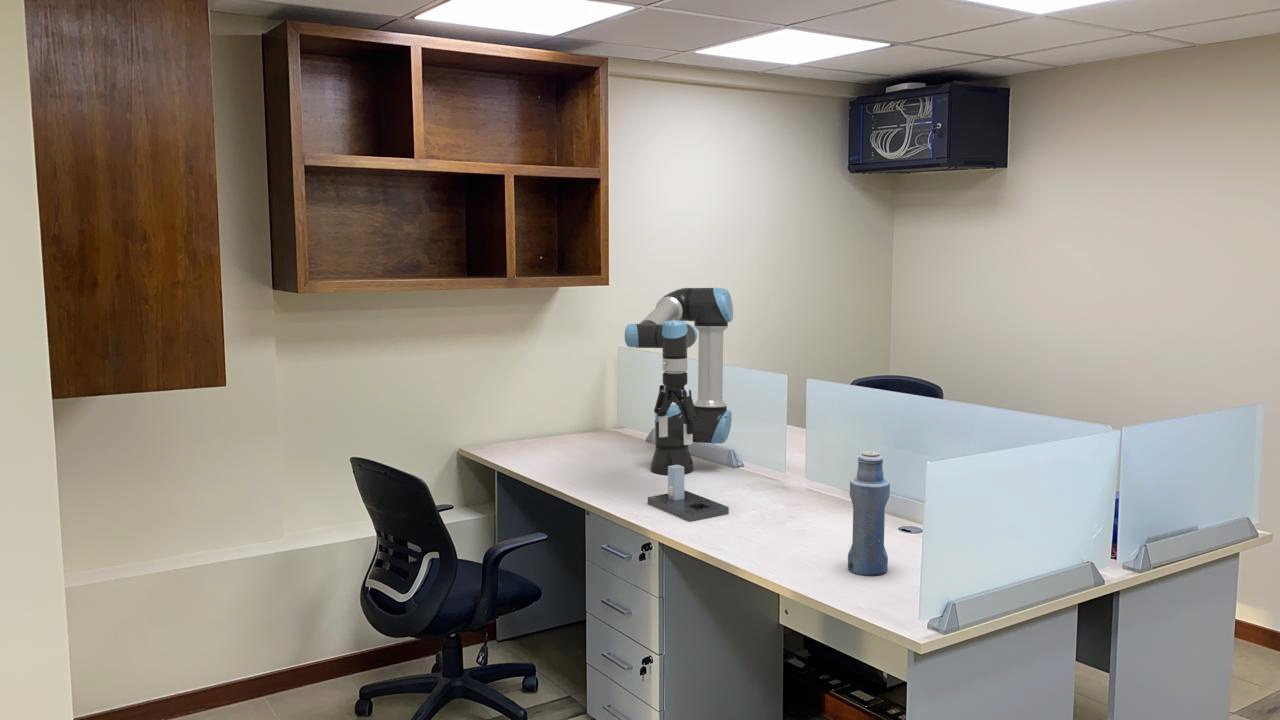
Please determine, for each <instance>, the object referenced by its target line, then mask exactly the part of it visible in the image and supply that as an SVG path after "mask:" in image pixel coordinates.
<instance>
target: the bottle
mask: <svg viewBox="0 0 1280 720" xmlns="http://www.w3.org/2000/svg"><path fill="white" fill-rule="evenodd" d="M883 459H884V458H883V456H882V455H880V453H879V452H878V451H872V450H869V451H868V450H865V451H862V452H861V454H858V458H857V462H858V464H857V470H856V471H857V472H856V476H855V477H852V478H851V479H850V481H849V497H850V500H851V503H852V540H851V541H852V544H851V546H850V549H849V550H848V553H847V567H848V569H849V571H850V572H852V573H854V574H857V575H862V576H880V575H883V574H886V572H887V571H888V563H889V562H888V561H889V557H888V553H887V550H886V547H885V521H886V520H885V519H886V517H885V512H886V511H885V510H886V509H885V508H886V506H887V503H888V501H889V499H890V493H891V491H890V490H891V483H890V481H889V480H888V479H886V478H884V469H883V463H884V460H883Z"/></svg>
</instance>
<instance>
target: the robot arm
mask: <svg viewBox="0 0 1280 720" xmlns="http://www.w3.org/2000/svg"><path fill="white" fill-rule="evenodd" d="M733 318H734V307H733V300H732V297H731V293H730V292H729V290H728V289H726V288H723V287H722V288H721V287H682V288H679V289H675V290H674V291H671V292H669V293H667V294H665V295H664V296H662V297H661V298H660V299H659V300H658V301H657V302H656V305H655V308H654V309H653V310H652V311H651V312H650V313H649V314H648V315H647V316H645V317H644V319H643V320H642V321H640V322H639V323H628V324H627V325H626V327H625V330H624V342H625V345H626V347H628V348H636V349H661V350H662V371H663V373H662V384H661V385H659V392H658V395H657V399H656V402H655V405H654V409H653V410H654V411H653V412H654V414H655V417H654V419H655V420H654V426H655V427H654V428H655V429H654V432H655V436H654V437H655V438H654V439H655V450H654V453H653V456H652V460H651V462H650V463H651V464H650V471H651V472H652V473H654V474H657V475H658V474H659V475H664V476H668V466H672V465H680V466H683V467H684V475H686V474H689V473H692V472H693V471H694V461H693V459H692V456H691V453H690V450H689V446H690V445H693V443H694V444H695V443H698V444H699V443H701V444H711V445H714V444H724V443H725V442H726V441H727V440H728V438H729V434H730V432H731V427H732V419H733V418H732V417H733V416H732V412H731V410H729V409H727V407H728V405H727V403H725V401H724V400H723V389H724V388H723V381H724V380H723V379H724V378H723V377H724V331H725V330H727V329H728V328H729V327H728V325H729V323H730V322H732V321H733ZM687 322H694V324H693V325H694V326H693V325H692V324H690V323H687ZM697 338H698V354H697V357H698V358H697V359H698V360H697V362H698V364H697V371H698V372H697V400H696V401H695V402H693V398H692V390H691V389H685V386H686V385H688V373H687V371H688V348H691V347H692V346H694V345H695V343H696V341H697ZM672 403H674V404H672Z"/></svg>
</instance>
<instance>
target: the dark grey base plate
mask: <svg viewBox="0 0 1280 720" xmlns="http://www.w3.org/2000/svg"><path fill="white" fill-rule="evenodd" d="M647 505H649V506H652V507H653V508H656V509H658V510H661V511H663V512H665V513H668V514H670V515H673V516H675V517H677V518H679V519H681V520H684V521H687V522H689V523H692V522H698V521H702V520H708V519H712V518H718V517H722V516H727V515H730V514H729V513H730V506H727V505H725V504H722V503H720V502H717V501H714V500H711V499H708V498H706V497H704V496H702V495H698V494H695V493H693V492H690V491H688V490H685V489H684V499H680V500H675V501H674V500H671V499H669V498H668V493H663V494H658V495H652V496H647Z"/></svg>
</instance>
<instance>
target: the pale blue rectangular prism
mask: <svg viewBox="0 0 1280 720" xmlns="http://www.w3.org/2000/svg"><path fill="white" fill-rule="evenodd" d="M684 490H685V474H684V467H683V466H680V465H672V466H668V475H667V494H668V498H669V499H671V500H674V501H675V500H680V499H684Z"/></svg>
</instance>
